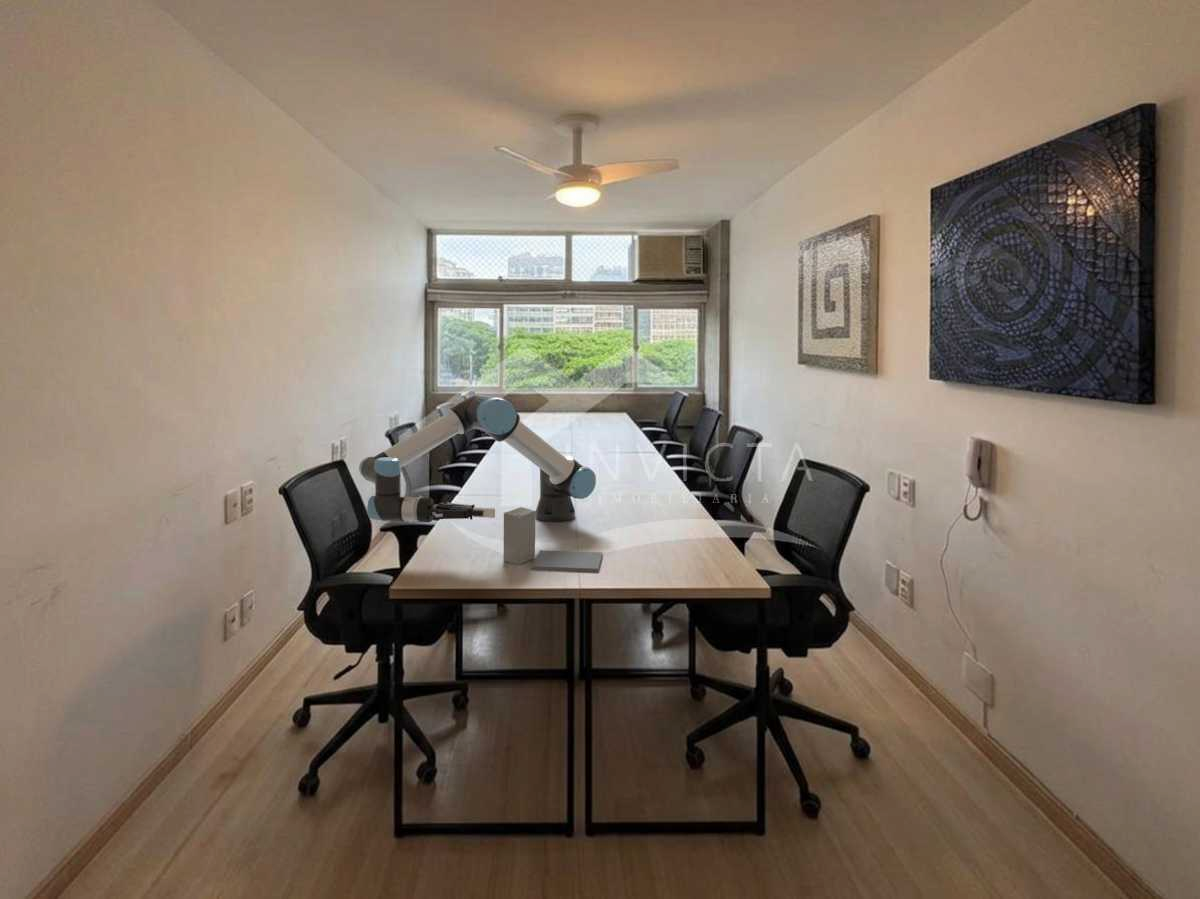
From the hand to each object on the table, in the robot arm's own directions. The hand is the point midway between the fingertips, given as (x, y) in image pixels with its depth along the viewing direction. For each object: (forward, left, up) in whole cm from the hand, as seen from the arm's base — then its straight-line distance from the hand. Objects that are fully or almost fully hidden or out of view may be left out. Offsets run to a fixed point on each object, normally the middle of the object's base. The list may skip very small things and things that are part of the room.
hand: (494, 512), depth 220 cm
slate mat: (-20, +11, -15) cm, 27 cm away
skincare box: (-7, +4, -15) cm, 17 cm away
